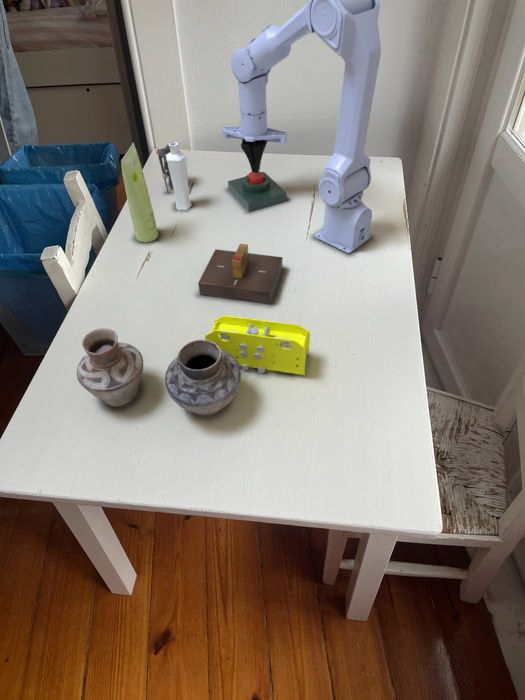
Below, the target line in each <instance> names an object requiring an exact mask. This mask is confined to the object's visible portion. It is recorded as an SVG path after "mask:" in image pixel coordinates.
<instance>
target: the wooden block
mask: <svg viewBox="0 0 525 700" xmlns="http://www.w3.org/2000/svg"><path fill="white" fill-rule="evenodd" d="M235 252H236V253H235V255H234V257H233V260H232V265H233V276H234V278H242V276H243V274H244V272H245V269H246V267H247V265H248V262H249V255H248V253H249V244H248V243H239V245H238V247H237V249H236V251H235Z"/></svg>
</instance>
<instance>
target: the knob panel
mask: <svg viewBox="0 0 525 700" xmlns="http://www.w3.org/2000/svg"><path fill="white" fill-rule="evenodd" d="M235 253H236V251H235V250H234V251H232V250H224V249H217V248H215V249H214V251H213V253H212V255H211V257H210V259H209V261H208V263H207V265H206V267H205V269H204V271H203V272H202V275H201V277H200V279H199V280H198V282H197V283H198V289H199V295H200V296H207V297H212V298H213V297H214V298H221V299H228V300H236V301H243V302H250V303H258V304H265V305H271V304H272V301H273V299H274V296H275V293H276V291H277V290H276V289H277V287H278V284H279V280H280V278H281V275H282V272H283V257H282V256H276V255H275V256H274V255H268V254H267V255H266V254H259V253H250V252H248V255H249V262H248V265H247V267H246V269H245V272H244V274H243V276H242V278H234V276H233V265H232V260H233V257H234V255H235Z"/></svg>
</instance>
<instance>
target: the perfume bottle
mask: <svg viewBox="0 0 525 700" xmlns="http://www.w3.org/2000/svg"><path fill="white" fill-rule="evenodd" d="M170 142H171V143H170ZM170 142H169V143H168V144H169V146H170V153H168V154H166V159H167V163H168V168H169V172H170V176H171V180H172V184H173V188H174V189H173V191H174V195H175V207H176V210H178V211H187V210H189V209H190V208H191V207H192V202H191V200H190V192H189V177H188V164H187V155H186V154H185V153H182V152H181V151H180V150H179V143H178V142H176V141H170ZM179 151H180V152H179Z"/></svg>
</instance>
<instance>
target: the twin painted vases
mask: <svg viewBox="0 0 525 700" xmlns="http://www.w3.org/2000/svg"><path fill="white" fill-rule="evenodd" d="M118 338H119V337H118V333H117V332H116V331H114V330H113V329H111V328H105V327H101V328H96V329H93V330H91V331H89V332H88V333H87V334H86V335H85V336H84V337H83V338H82V341H81V347H82V349H83V350H84V352H85V355H84V356H82V358H81V359H80V361H79V363H78V364H77V368H76V377H77V381H78V383H79V385H81V386H82V387H83V389H85V390H86V391H87V392H88V393H90V394H91V395H93V396H94V397H96V398H97V399H99V400H103V402H104V403H105V404H107V405H108V406H112V407H121V406H125V405H127V404H130V402H132V401H133V400H134V399H135V397H136V396H137V395H138V392H139V385H140V383H141V380H142V377H143V372H144V358H143V355H142V353H141V352H140V350H139V349H138V348H136V346H134V345H132V344H130V343H126V342H121V341H120V342H119V341H118ZM241 380H242V368H241V366H239V363H238V361H237V360H236V359H235V358H234V357H233V356H232V355H231V354H230V353H228V352H226V351H224V350H221V349H220V348H219V346H218V345H217V344H216V343H214V342H212V341H209V340H206V339H195V340H191V341H189V342H187V343H186V344H184V345H183V346H182V347H181V348H180V349H179V351H178V352H177V357H175V358H174V359H173V360H172V361H171V362H170V363H169V364H168V366H167V369H166V371H165V375H164V384H165V388H166V391H167V392H168V395H169V397H170V398H171V400H173V402H174V403H175V404H177V405H178V406H179V407H180V408H182V409H184V410H185V411H188V412H191V413H195V414H196V415H199V416H211V415H214V414H217V413H218V412H220V411H221V410H222V409H223V408H225V407H227V405H229V404H230V403H231V402H232V401H233V399H234V398H235V396H236V395H237V393H238V390H239V388H240V384H241Z"/></svg>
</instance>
